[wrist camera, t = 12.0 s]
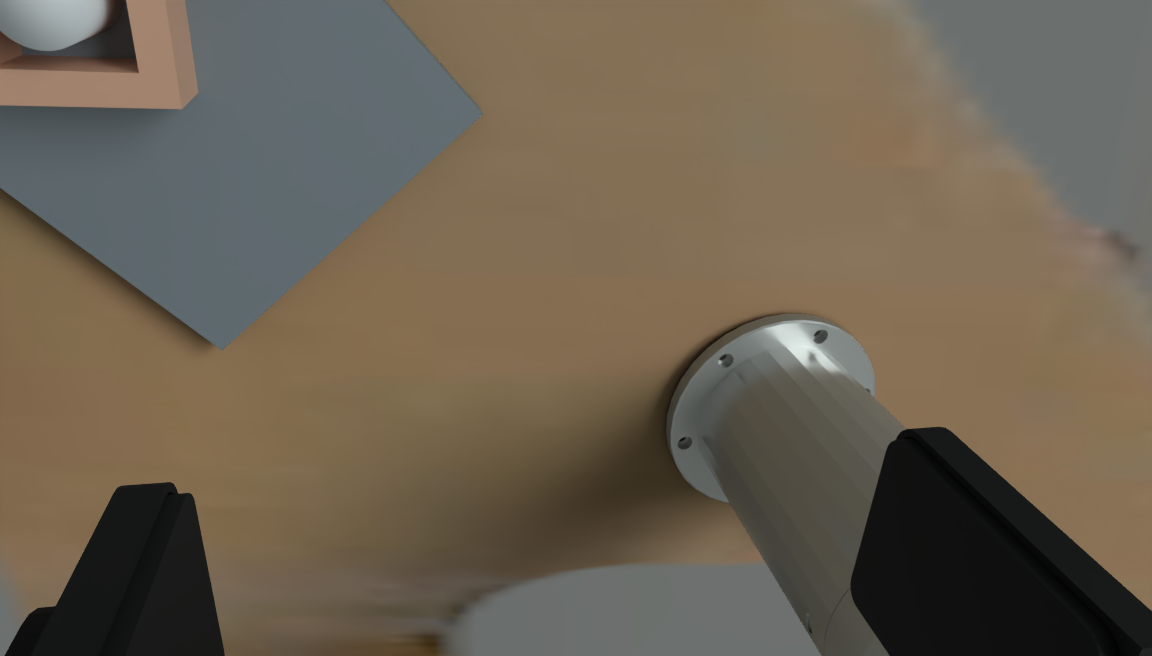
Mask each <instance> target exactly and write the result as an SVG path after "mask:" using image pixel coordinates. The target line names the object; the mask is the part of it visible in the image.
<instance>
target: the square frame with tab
mask: <svg viewBox="0 0 1152 656" xmlns="http://www.w3.org/2000/svg"><path fill="white" fill-rule="evenodd" d="M126 2H127V8H128V14H129V19H130V25H131V31H132V36H133V42H134V48H135V53H136V59H134V58H105V57H76V56H47V55H22V51H21V47H20V44H18V43H16V42H15V41H13V40H11V39H10V38H8V37H7V36H6V35H4V34H3V33H2V32H1V31H0V105H10V106H56V107H103V108H149V109H183V108H184V107H185V106H186V105H187V104H188V103H189V102H190V101H191V100H192V99H193V98H194V97H195V96H196V95H197V94H198V87H197V80H196V73H195V66H194V59H193V52H192V45H191V38H190V31H189V25H188V18H187V11H186V4H185V0H126Z"/></svg>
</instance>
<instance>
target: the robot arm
mask: <svg viewBox="0 0 1152 656" xmlns="http://www.w3.org/2000/svg"><path fill="white" fill-rule="evenodd" d="M666 436H667V442H668V447H669V451H670V453H671V455H672V458H673V460H674V462H675V464H676V466H677V467H678V469H679V471H680V472H681V474H682V476H683V477H684V479H685V480H686V481H687V482H688V483H689V484H690V485H691V486H692V487H693V488H695V489H696V490H697V491H699V492H701V493H702V494H704V495H706V496H708V497H709V498H713V499H716V500H719V501H722V502H725V503H730V504H731V506H732V508H733V509H734V511H735V513H736V514H737V516H738V518H739V519H740V521H741V523H742V524H743V526H744V528H745V529H746V531H747V533H748V534H749V536H750V538H751V539H752V541H753V543H754V544H755V546H756V548H757V549H758V551H759V553H760V554H761V556H762V558H763V559H764V561H765V563H766V564H767V566H768V568H769V569H770V571H771V573H772V574H773V576H774V578H775V579H776V581H777V583H778V584H779V586H780V588H781V589H782V591H783V593H784V594H785V596H786V597H787V599H788V601H789V603H790V604H791V606H792V608H793V609H794V611H795V612H796V614H797V616H798V618H799V619H800V621H801V622H802V624H803V626H804V627H805V629H806V631H807V632H808V634H809V636H810V638H811V639H812V641H813V643H814V644H815V646H816V647H817V649H818V651H819V653H820V654H821V656H1152V611H1151V610H1150V609H1149V608H1147V607H1146V606H1145V605H1144V604H1143V603H1142V602H1141V601H1140V600H1138V599H1137V598H1136V597H1135V596H1134V595H1133V594H1132V593H1131V592H1130V591H1128V590H1127V589H1126V588H1125V587H1124V586H1123V585H1122V584H1121V583H1120V582H1118V581H1117V580H1116V579H1115V578H1114V577H1113V576H1112V575H1111V574H1109V573H1108V572H1107V571H1106V570H1105V569H1104V568H1103V567H1102V566H1101V565H1099V564H1098V563H1097V562H1096V561H1095V560H1094V559H1093V558H1092V557H1091V556H1089V555H1088V554H1087V553H1086V552H1085V551H1084V550H1083V549H1082V548H1080V547H1079V546H1078V545H1077V544H1076V543H1075V542H1074V541H1073V540H1072V539H1070V538H1069V537H1068V536H1067V535H1066V534H1065V533H1064V532H1063V531H1062V530H1060V529H1059V528H1058V527H1057V526H1056V525H1055V524H1054V523H1053V522H1051V521H1050V520H1049V519H1048V518H1047V517H1046V516H1045V515H1044V514H1043V513H1041V512H1040V511H1039V510H1038V509H1037V508H1036V507H1035V506H1034V505H1033V504H1031V503H1030V502H1029V501H1028V500H1027V499H1026V498H1025V497H1024V496H1022V495H1021V494H1020V493H1019V492H1018V491H1017V490H1016V489H1015V488H1014V487H1012V486H1011V485H1010V484H1009V483H1008V482H1007V481H1006V480H1005V479H1004V478H1002V477H1001V476H1000V475H999V474H998V473H997V472H996V471H995V470H993V469H992V468H991V467H990V466H989V465H988V464H987V463H986V462H985V461H983V460H982V459H981V458H980V457H979V456H978V455H977V454H976V453H974V452H973V451H972V450H971V449H970V448H969V447H968V446H967V445H966V444H964V443H963V442H962V441H961V440H960V439H959V438H958V437H957V436H956V435H954V434H953V433H952V432H951V431H949V430H948V429H946V428H943V427H930V428H916V429H906V428H905V427H904V426H903V425H902V424H901V423H900V422H899V421H898V420H897V419H896V418H895V417H894V416H893V415H892V414H891V413H890V412H889V411H888V410H887V409H886V408H885V407H884V406H882V405H881V404H880V403H879V402H878V401H877V400H876V399H875V376H874V372H873V368H872V364H871V361H870V359H869V357H868V356H867V354H866V352H865V350H864V348H863V347H862V346H861V345H860V344H859V343H858V342H857V341H856V340H855V339H854V338H853V337H852V336H851V335H850V334H849V333H848V332H846V331H845V330H844V329H843V328H841V327H840V326H839V325H837V324H835V323H833V322H831V321H829V320H826V319H824V318H821V317H817V316H812V315H808V314H781V315H775V316H768V317H764V318H761V319H758V320H755V321H752V322H749V323H747V324H744V325H742V326H740V327H738V328H737V329H735V330H733V331H731V332H729V333H727V334H725V335H724V336H723V337H721V338H720V339H719V340H717V341H716V342H715V343H713V344H712V345H711V346H709V347H708V348H707V349H706V350H705V351H704V352H703V353H702V354H701V355H700V356H699V357H698V358H697V359H696V360H695V361H694V362H693V363H692V365H691V366H690V367H689V369H688V370H687V372H686V373H685V374H684V376H683V377H682V379H681V380H680V382H679V384H678V386H677V388H676V390H675V392H674V395H673V397H672V399H671V403H670V407H669V410H668V414H667V425H666ZM5 656H225V655H224V648H223V643H222V638H221V633H220V628H219V623H218V617H217V612H216V607H215V602H214V597H213V592H212V587H211V582H210V577H209V572H208V566H207V561H206V556H205V551H204V546H203V541H202V536H201V531H200V526H199V521H198V516H197V510H196V505H195V501H194V498H193V496H192V494H190V493H183V494H178V492H177V489H176V487H175V485H174V484H173V483H171V482H167V483H153V484H140V485H126V486H120V487H118V488H117V489H116V491H115V492H114V494H113V496H112V497H111V499H110V501H109V503H108V505H107V507H106V509H105V511H104V513H103V515H102V517H101V519H100V521H99V523H98V525H97V527H96V529H95V531H94V533H93V535H92V537H91V538H90V540H89V542H88V544H87V546H86V548H85V550H84V552H83V554H82V556H81V558H80V560H79V562H78V564H77V566H76V568H75V570H74V572H73V574H72V576H71V578H70V579H69V581H68V583H67V585H66V587H65V589H64V591H63V593H62V595H61V597H60V599H59V601H58V603H57V605H56V606H54V607H44V608H37V609H36V610H35V611H33V612H32V613H30V614H29V615H28V617H27V618H26V620H25V621H24V622H23V624H22V625H21V627H20V629H19V630H18V632H17V634H16V636H15V638H14V640H13V641H12V643H11V645H10V647H9V649H8V651H7V652H6V654H5Z"/></svg>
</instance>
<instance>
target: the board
mask: <svg viewBox="0 0 1152 656" xmlns="http://www.w3.org/2000/svg"><path fill="white" fill-rule="evenodd" d="M185 4H186V11H187V18H188V25H189V31H190V38H191V45H192V52H193V59H194V66H195V73H196V80H197V87H198V94H197V95H196V96H195V97H194V98H193V99H192V100H191V101H190V102H189V103H188V104H187V105H186V106H185V107H184V108H183V109H149V108H103V107H56V106H10V105H0V188H1V189H2V190H4V191H5V192H6V193H8V194H9V195H11V196H12V197H13V198H15V199H16V200H17V201H19V202H20V203H21V204H23V205H24V206H26V207H27V208H28V209H30V210H31V211H32V212H34V213H35V214H36V215H38V216H39V217H41V218H42V219H43V220H45V221H46V222H47V223H49V224H50V225H51V226H53V227H54V228H56V229H57V230H58V231H60V232H61V233H62V234H64V235H65V236H66V237H68V238H69V239H71V240H72V241H73V242H75V243H76V244H77V245H79V246H80V247H81V248H83V249H84V250H86V251H87V252H88V253H90V254H91V255H92V256H94V257H95V258H96V259H98V260H99V261H101V262H102V263H103V264H105V265H106V266H107V267H109V268H110V269H111V270H113V271H114V272H116V273H117V274H118V275H120V276H121V277H122V278H124V279H125V280H126V281H128V282H129V283H131V284H132V285H133V286H135V287H136V288H137V289H139V290H140V291H141V292H143V293H144V294H146V295H147V296H148V297H150V298H151V299H152V300H154V301H155V302H156V303H158V304H159V305H161V306H162V307H163V308H165V309H166V310H167V311H169V312H170V313H171V314H173V315H174V316H176V317H177V318H178V319H180V320H181V321H182V322H184V323H185V324H186V325H188V326H189V327H191V328H192V329H193V330H195V331H196V332H197V333H199V334H200V335H201V336H203V337H204V338H206V339H207V340H208V341H210V342H211V343H212V344H214V345H215V346H216V347H218V348H219V349H221V350H223V349H224V348H225V347H226V346H227V345H229V344H230V343H231V342H232V341H233V340H234V339H235V338H236V337H237V336H238V335H240V334H241V333H242V332H243V331H244V330H245V329H246V328H247V327H248V326H250V325H251V324H252V323H253V322H254V321H255V320H256V319H257V318H258V317H259V316H261V315H262V314H263V313H264V312H265V311H266V310H267V309H268V308H269V307H270V306H272V305H273V304H274V303H275V302H276V301H277V300H278V299H279V298H280V297H282V296H283V295H284V294H285V293H286V292H287V291H288V290H289V289H290V288H291V287H293V286H294V285H295V284H296V283H297V282H298V281H299V280H300V279H301V278H303V277H304V276H305V275H306V274H307V273H308V272H309V271H310V270H311V269H312V268H314V267H315V266H316V265H317V264H318V263H319V262H320V261H321V260H322V259H324V258H325V257H326V256H327V255H328V254H329V253H330V252H331V251H332V250H333V249H335V248H336V247H337V246H338V245H339V244H340V243H341V242H342V241H343V240H344V239H346V238H347V237H348V236H349V235H350V234H351V233H352V232H353V231H354V230H356V229H357V228H358V227H359V226H360V225H361V224H362V223H363V222H364V221H365V220H367V219H368V218H369V217H370V216H371V215H372V214H373V213H374V212H375V211H377V210H378V209H379V208H380V207H381V206H382V205H383V204H384V203H385V202H386V201H388V200H389V199H390V198H391V197H392V196H393V195H394V194H395V193H396V192H397V191H399V190H400V189H401V188H402V187H403V186H404V185H405V184H406V183H407V182H409V181H410V180H411V179H412V178H413V177H414V176H415V175H416V174H417V173H418V172H420V171H421V170H422V169H423V168H424V167H425V166H426V165H427V164H428V163H430V162H431V161H432V160H433V159H434V158H435V157H436V156H437V155H438V154H439V153H441V152H442V151H443V150H444V149H445V148H446V147H447V146H448V145H449V144H451V143H452V142H453V141H454V140H455V139H456V138H457V137H458V136H459V135H460V134H462V133H463V132H464V131H465V130H466V129H467V128H468V127H469V126H470V125H471V124H473V123H474V122H475V121H476V120H477V119H478V118H479V117H480V116H481V115H483V113H482V111H481V110H480V108H479V107H478V106H477V104H476V103H475V102H474V101H473V100H472V99H471V98H470V96H469V95H468V94H467V93H466V92H465V91H464V90H463V89H462V87H461V86H460V85H459V84H458V83H457V82H456V81H455V79H454V78H453V77H452V76H451V75H450V74H449V73H448V72H447V70H446V69H445V68H444V67H443V66H442V65H441V64H440V62H439V61H438V60H437V59H436V58H435V57H434V56H433V55H432V53H431V52H430V51H429V50H428V49H427V48H426V47H425V45H424V44H423V43H422V42H421V41H420V40H419V39H418V38H417V36H416V35H415V34H414V33H413V32H412V31H411V30H410V28H409V27H408V26H407V25H406V24H405V23H404V22H403V21H402V19H401V18H400V17H399V16H398V15H397V14H396V13H395V11H394V10H393V9H392V8H391V7H390V6H389V5H388V4H387V2H386V1H385V0H185ZM0 31H1V32H2V33H3V34H4V35H6V36H7V37H8V38H10V39H11V40H13V41H15V42H16V43H18V44H20V47H21V51H22V55H47V56H76V57H105V58H134V59H136V53H135V48H134V42H133V36H132V31H131V25H130V19H129V14H128V8H127V2H126V0H0Z"/></svg>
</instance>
